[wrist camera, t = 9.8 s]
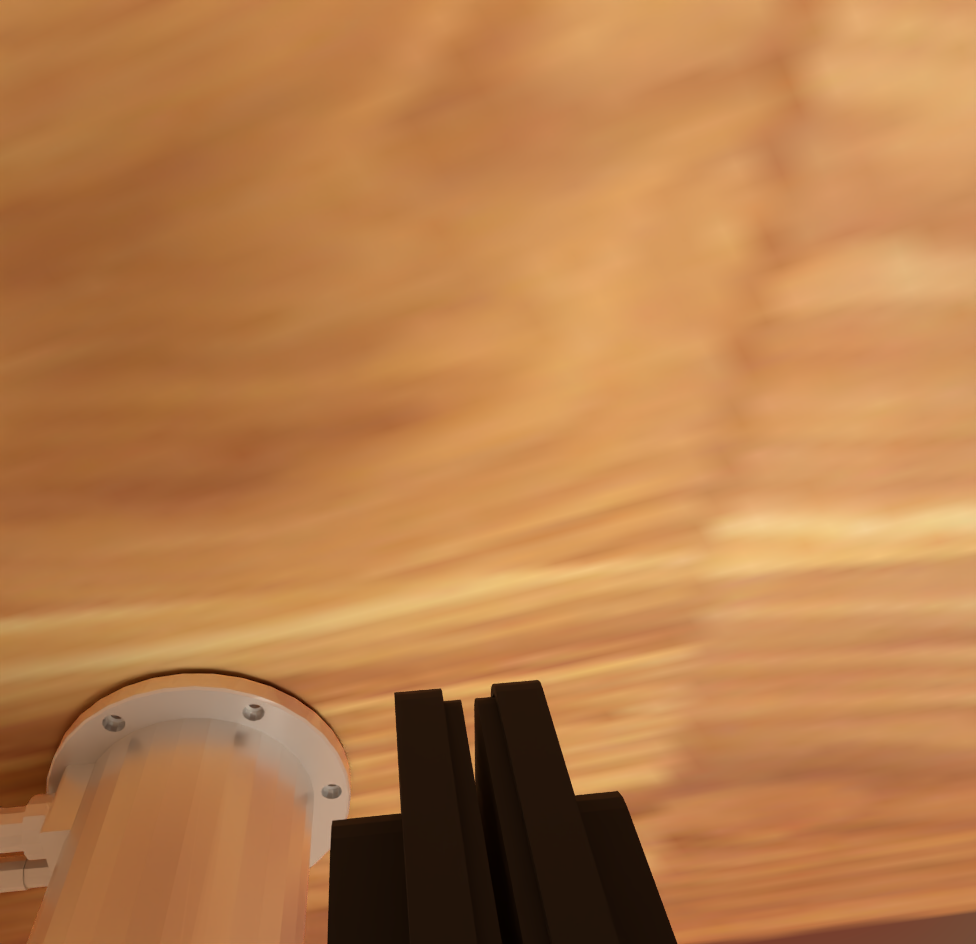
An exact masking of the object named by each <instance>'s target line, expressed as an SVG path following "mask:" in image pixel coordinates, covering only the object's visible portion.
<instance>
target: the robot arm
mask: <svg viewBox="0 0 976 944" xmlns="http://www.w3.org/2000/svg"><path fill="white" fill-rule="evenodd" d="M394 695H395V713H396V731H397V749H398V766H399V784H400V801H401V814H391V815H381V816H372V817H362V818H352V819H347V816H348V814H349V805H350V794H351V783H350V768H349V764H348V761H347V758H346V755H345V751H344V749H343V747H342V746H341V744H340V742H339V740H338V739H337V737H336V735H335V734H334V732H333V731H332V729H331V728H330V727H329V726H328V725H327V724H326V723H325V722H324V721H323V720H322V719H321V718H320V717H319V716H318V715H317V714H316V713H315V712H314V711H312V710H311V709H310V708H308V707H307V706H305V705H304V704H303V703H301V702H300V701H298V700H297V699H296V698H294V697H292V696H289V695H287V694H285V693H283V692H281V691H279V690H277V689H275V688H273V687H271V686H268V685H264V684H261V683H258V682H254V681H251V680H248V679H244V678H240V677H233V676H226V675H219V674H176V675H170V676H163V677H156V678H151V679H148V680H145V681H142V682H138V683H135V684H132V685H129V686H126V687H123V688H121V689H119V690H117V691H115V692H113V693H112V694H110V695H108V696H106V697H104V698H102V699H100V700H99V701H97V702H96V703H95V704H94V705H92V706H91V707H90V708H88V709H87V710H86V711H85V712H83V713H82V714H81V715H80V716H79V717H78V718H77V719H76V721H75V722H74V723H73V724H72V725H71V727H70V728H69V729H68V730H67V731H66V733H65V734H64V736H63V739H62V741H61V743H60V745H59V747H58V749H57V751H56V753H55V755H54V757H53V760H52V764H51V767H50V770H49V773H48V776H47V789H46V794H37V795H35V796H33V797H31V799H30V801H29V802H28V804H27V806H19V807H8V808H3V807H1V806H0V853H9V852H20V851H24V855H18V856H7V857H0V893H1V892H12V891H22V890H28V889H30V888H36V887H46V886H48V887H47V889H46V892H45V895H44V898H43V900H42V903H41V906H40V908H39V911H38V914H37V917H36V919H35V922H34V925H33V927H32V930H31V933H30V936H29V938H28V941H27V944H304V932H305V919H306V905H307V892H308V879H309V868H310V867H312V866H313V865H315V864H316V863H317V862H318V861H319V860H320V859H321V858H322V857H323V856H324V855H325V854H326V853H327V852H328V851H329V850H330V878H329V911H328V944H677V941H676V939H675V936H674V933H673V931H672V928H671V925H670V922H669V920H668V917H667V914H666V911H665V909H664V906H663V903H662V901H661V898H660V895H659V892H658V890H657V887H656V884H655V882H654V879H653V876H652V873H651V871H650V868H649V865H648V862H647V860H646V857H645V854H644V852H643V849H642V846H641V843H640V841H639V838H638V835H637V832H636V830H635V827H634V824H633V822H632V819H631V816H630V813H629V811H628V808H627V806H626V803H625V801H624V799H623V797H622V796H621V794H620V793H619V792H618V791H615V792H605V793H595V794H585V795H576V796H575V794H574V791H573V788H572V784H571V781H570V778H569V774H568V771H567V768H566V765H565V761H564V758H563V755H562V751H561V748H560V745H559V741H558V738H557V735H556V731H555V728H554V725H553V721H552V718H551V715H550V711H549V708H548V705H547V701H546V698H545V695H544V692H543V688H542V686H541V683H540V681H539V680H534V681H522V682H511V683H499V684H493V685H492V687H491V697H487V698H476V699H475V703H474V717H475V780H474V774H473V768H472V762H471V756H470V750H469V744H468V738H467V732H466V726H465V720H464V714H463V708H462V703H461V700H453V701H443V695H442V690H441V689H430V690H419V691H407V692H396V693H394Z"/></svg>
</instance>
